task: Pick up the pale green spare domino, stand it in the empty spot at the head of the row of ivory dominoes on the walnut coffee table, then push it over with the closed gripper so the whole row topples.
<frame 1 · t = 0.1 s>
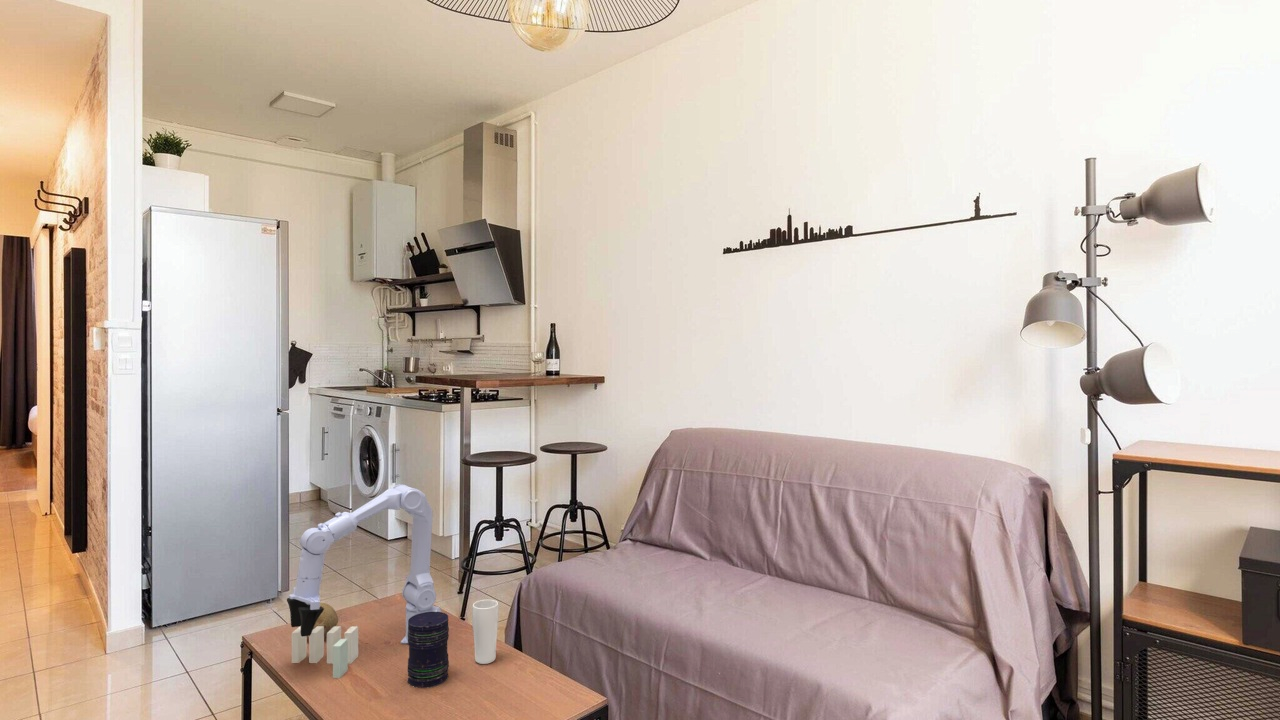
hand: (300, 631, 171), 10 cm above the table, tool pointing down, fingers open, 7 cm apart
domino 5: (299, 659, 178), on the table
dark blue cylinder: (428, 679, 168), on the table
domino 3: (334, 659, 178), on the table
domino 4: (316, 659, 178), on the table
natural sponge: (320, 639, 192), on the table
domino 2: (351, 659, 178), on the table
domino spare: (340, 673, 170), on the table
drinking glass: (485, 661, 178), on the table
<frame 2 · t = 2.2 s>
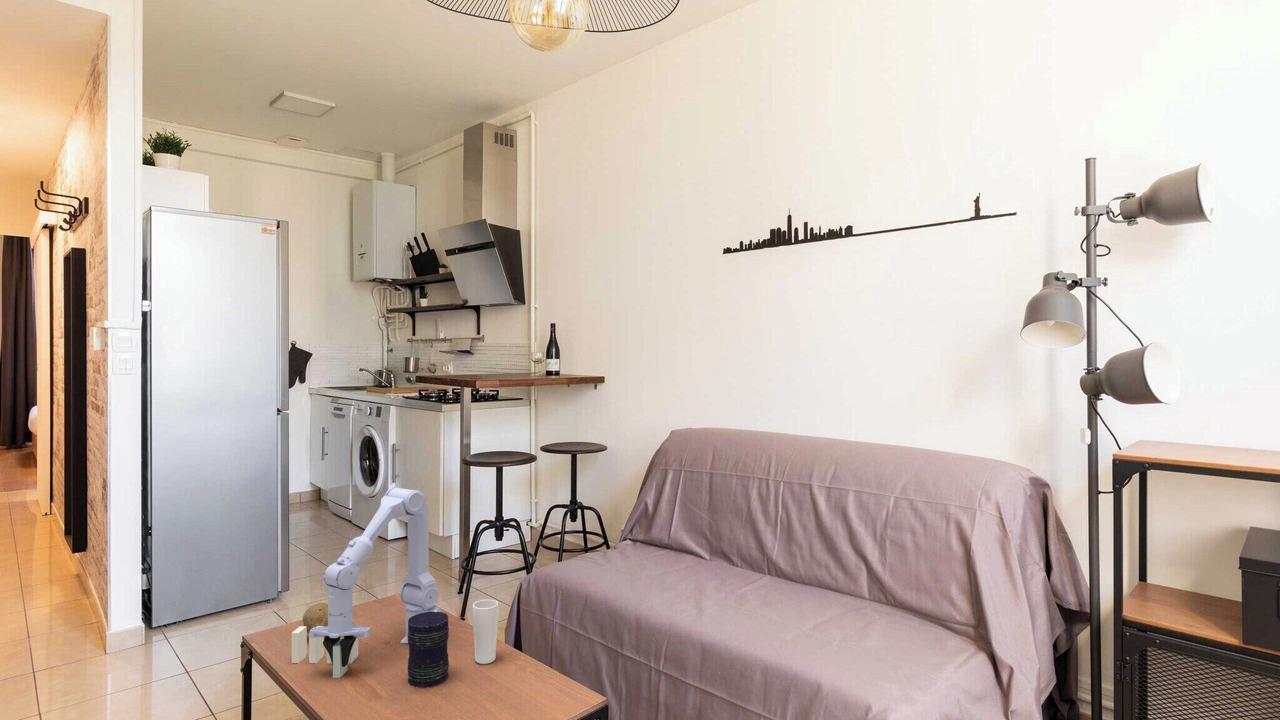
hand: (340, 665, 170), 2 cm above the table, tool pointing down, fingers closed on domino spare, 2 cm apart
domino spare: (340, 673, 170), on the table, touching gripper
everything else where it was.
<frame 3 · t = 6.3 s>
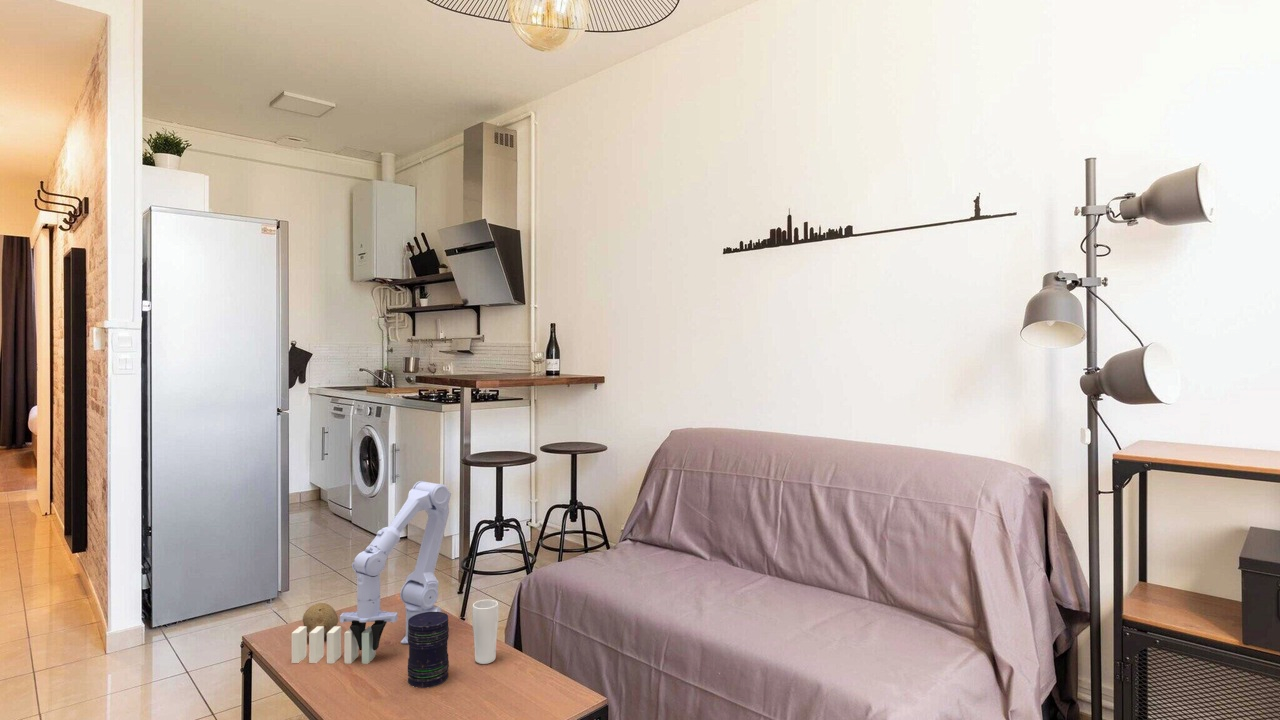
hand: (368, 648, 178), 3 cm above the table, tool pointing down, fingers open, 3 cm apart
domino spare: (368, 659, 178), on the table
everything else where it was.
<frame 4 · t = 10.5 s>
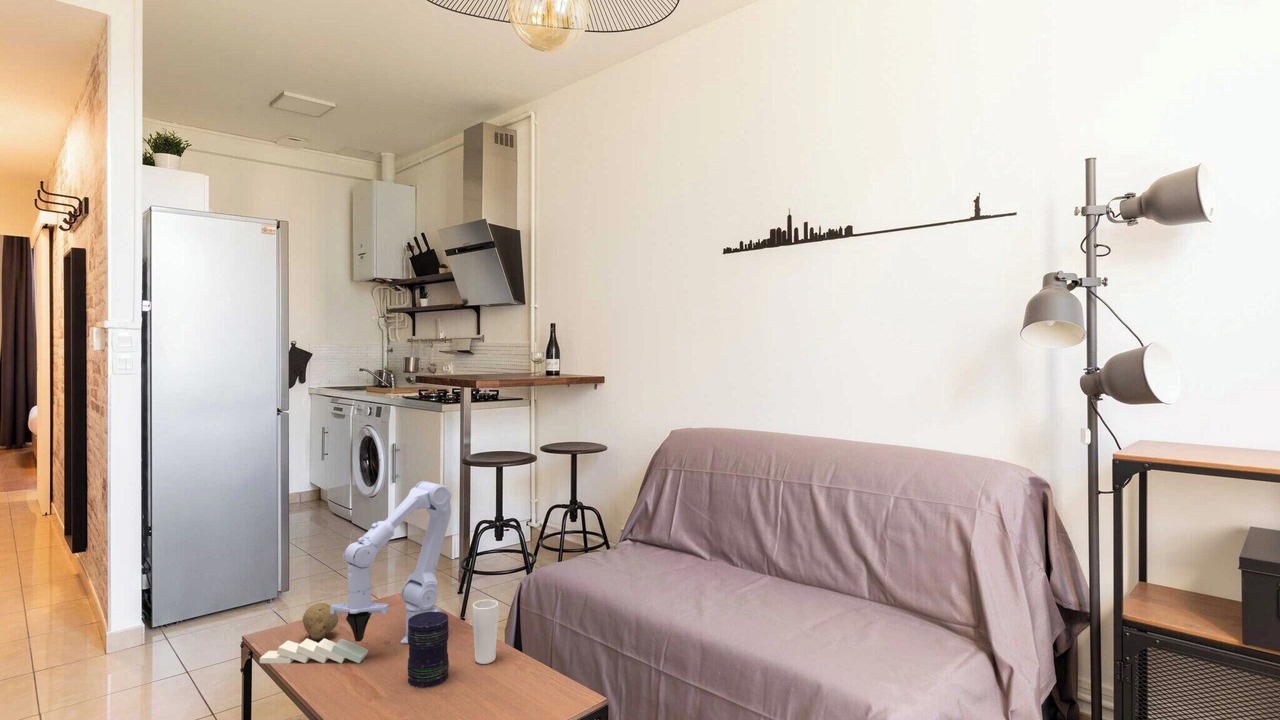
hand: (359, 640, 178), 5 cm above the table, tool pointing down, fingers closed
domino 5: (294, 657, 179), on the table, tilted 90°, touching domino 4
domino 3: (329, 656, 178), point 1 cm above the table, tilted 67°, touching domino 2, domino 4
domino 4: (310, 656, 178), point 1 cm above the table, tilted 73°, touching domino 3, domino 5
domino 2: (346, 656, 178), point 1 cm above the table, tilted 67°, touching domino 3, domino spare
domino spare: (363, 656, 178), point 1 cm above the table, tilted 67°, touching domino 2
everything else where it was.
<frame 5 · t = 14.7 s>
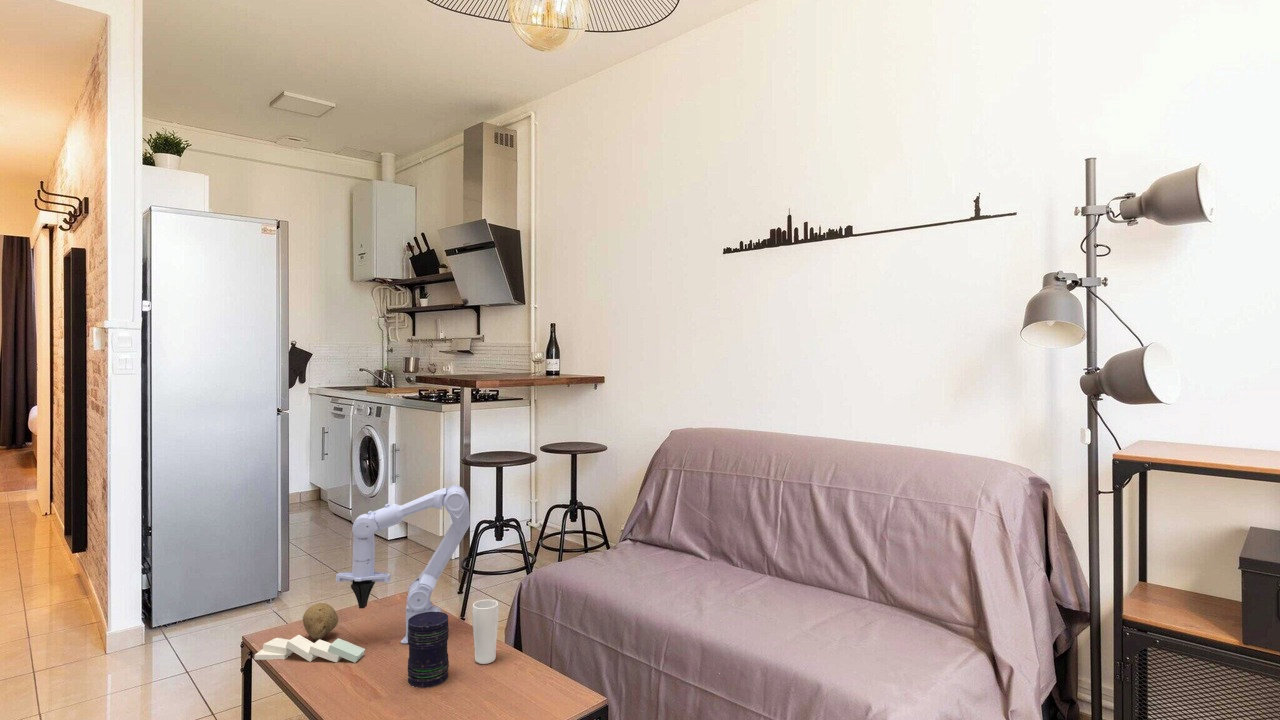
hand: (362, 607, 188), 10 cm above the table, tool pointing down, fingers closed
domino 5: (288, 654, 181), on the table, tilted 90°, touching domino 4
domino 3: (316, 655, 179), point 1 cm above the table, tilted 65°
domino 4: (293, 648, 180), point 2 cm above the table, tilted 90°, touching domino 5
domino 2: (341, 655, 179), point 1 cm above the table, tilted 72°, touching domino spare
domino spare: (360, 655, 179), point 1 cm above the table, tilted 69°, touching domino 2
everything else where it was.
at the end: domino 5 tilted 90°; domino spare tilted 69°; the gripper is holding nothing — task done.
